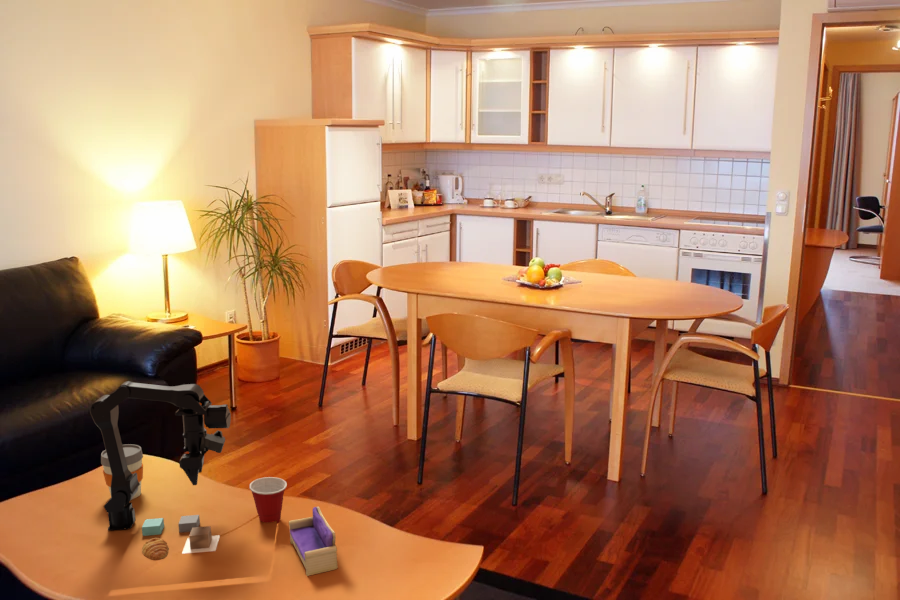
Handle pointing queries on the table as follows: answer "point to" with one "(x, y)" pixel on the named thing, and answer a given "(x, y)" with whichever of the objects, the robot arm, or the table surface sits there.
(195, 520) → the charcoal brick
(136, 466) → the reusable coffee cup
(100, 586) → the table surface
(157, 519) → the teal brick
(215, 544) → the base plate
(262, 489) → the plastic cup
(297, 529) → the toy sofa
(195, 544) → the walnut brick
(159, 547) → the pastry
